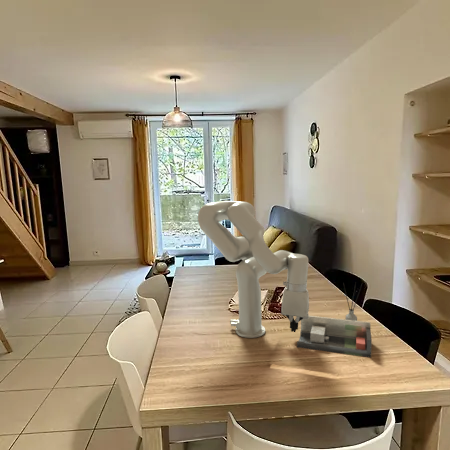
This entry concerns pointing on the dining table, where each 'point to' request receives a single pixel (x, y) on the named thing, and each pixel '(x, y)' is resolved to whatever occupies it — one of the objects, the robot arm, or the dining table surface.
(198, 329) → the dining table surface
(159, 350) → the dining table surface
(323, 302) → the dining table surface
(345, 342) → the grey compartment tray
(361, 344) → the salmon pink rectangular block
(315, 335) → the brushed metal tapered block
